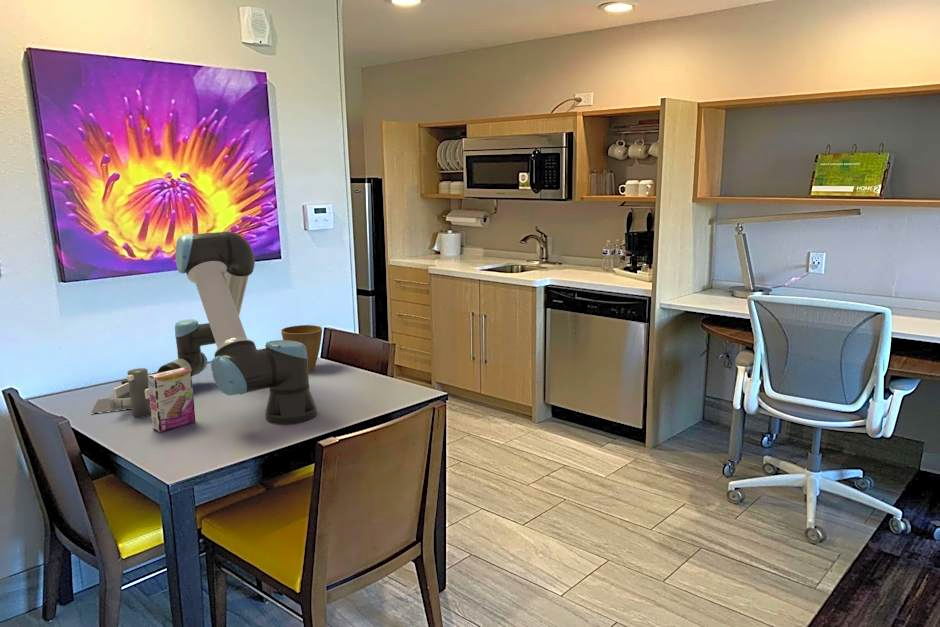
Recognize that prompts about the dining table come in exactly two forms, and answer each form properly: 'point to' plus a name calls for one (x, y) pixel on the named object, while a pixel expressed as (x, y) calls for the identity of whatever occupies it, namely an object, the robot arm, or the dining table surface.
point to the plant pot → (305, 340)
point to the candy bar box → (171, 399)
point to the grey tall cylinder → (139, 392)
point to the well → (113, 403)
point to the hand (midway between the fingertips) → (130, 393)
